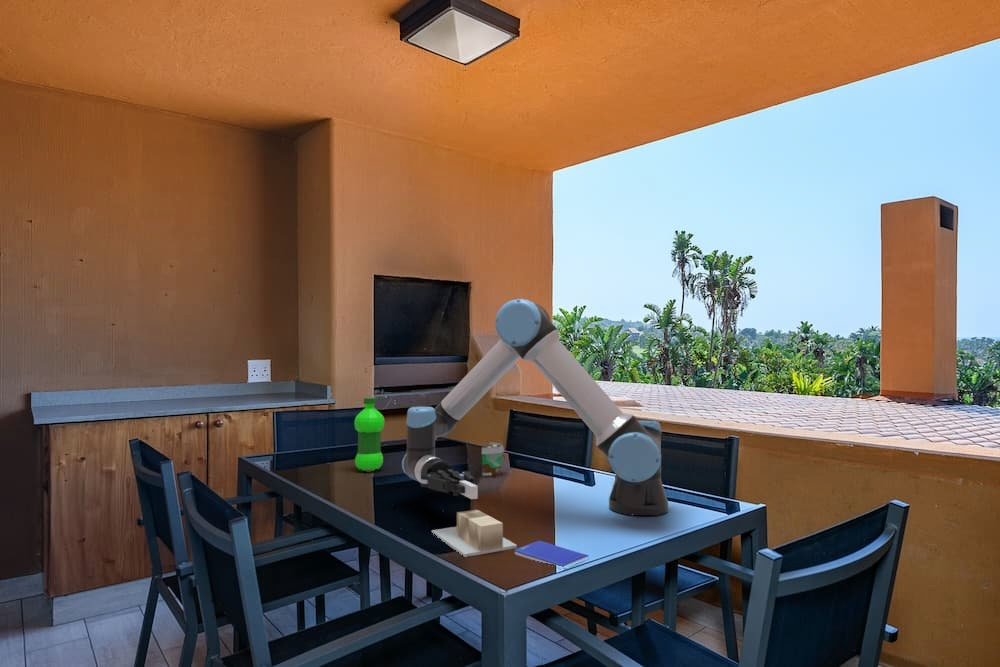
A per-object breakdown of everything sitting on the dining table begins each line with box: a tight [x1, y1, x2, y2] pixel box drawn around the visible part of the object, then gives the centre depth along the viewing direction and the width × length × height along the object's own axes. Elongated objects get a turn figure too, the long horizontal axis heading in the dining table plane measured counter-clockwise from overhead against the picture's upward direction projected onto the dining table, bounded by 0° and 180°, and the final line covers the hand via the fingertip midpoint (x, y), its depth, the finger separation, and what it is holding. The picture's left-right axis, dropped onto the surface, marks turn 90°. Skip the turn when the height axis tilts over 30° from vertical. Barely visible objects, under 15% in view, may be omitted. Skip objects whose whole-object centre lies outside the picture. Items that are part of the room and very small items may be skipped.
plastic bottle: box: [353, 397, 385, 470], centre depth 205 cm, size 10×10×25 cm
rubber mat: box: [431, 526, 518, 558], centre depth 129 cm, size 18×12×1 cm, turn 28°
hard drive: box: [514, 540, 589, 567], centre depth 119 cm, size 2×8×12 cm
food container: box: [481, 442, 505, 478], centre depth 198 cm, size 12×6×10 cm, turn 168°
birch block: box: [456, 509, 504, 551], centre depth 127 cm, size 5×5×12 cm
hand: (474, 492), depth 128 cm, fingers closed
